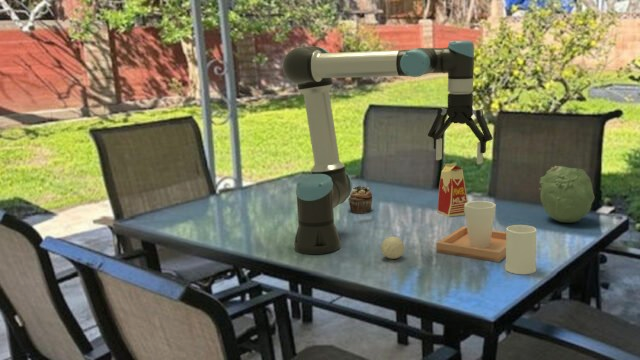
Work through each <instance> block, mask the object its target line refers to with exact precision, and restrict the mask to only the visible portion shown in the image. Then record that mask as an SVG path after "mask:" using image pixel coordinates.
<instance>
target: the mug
mask: <svg viewBox="0 0 640 360" xmlns="http://www.w3.org/2000/svg"><path fill="white" fill-rule="evenodd" d="M505 229H506V230H505V232H506V257H505V265H504V270H505V271H506V272H508V273H510V274H514V275H531V274H534V273H536V272H537V264H536V263H537V259H536V258H537V228H536V227H534V226H532V225H527V224H513V225H509V226H507V227H506V228H505Z"/></svg>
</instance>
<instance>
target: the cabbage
mask: <svg viewBox="0 0 640 360" xmlns="http://www.w3.org/2000/svg"><path fill="white" fill-rule="evenodd" d="M539 179H540V180H539V183H538V184H540V187H539V188H538V190H539V191H540V195H539V196H540V201H541V204H542V207H543V208H544V211H545V212H546V213H547V215H549V217H550V218H552V219H553V220H555V221H557V222H559V223H564V224H565V223H567V224H568V223H569V224H571V223H576V222H578V221H580V220H581V219H583V218H584V217H585V216H586V215H587V214H588V213H589V212H590V211H591V208H592V203H594V201H595V194H594V190H593V184H592V180H591V177H590V176H588V174H587V171H586V170H584V169H582V168H577V167H575V168H573V167H572V168H571V167H569V166H568V167H567V166H563V165H560V166H559V165H553V166H551V167H550V169H548V170H547V171H545V175H544V176H541V177H540V178H539Z"/></svg>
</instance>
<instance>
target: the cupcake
mask: <svg viewBox="0 0 640 360" xmlns="http://www.w3.org/2000/svg"><path fill="white" fill-rule="evenodd" d="M373 200H374V199H373V194H372V193H371V191H370V187H369V186H361V185H358V186H356V187H352V191H351V194H350V195H349V197H348V198H347V201H348V205H349V207H350V208H349V209H350V212H351V213H353V214H367V213H370V212H371V211H372V205H373Z"/></svg>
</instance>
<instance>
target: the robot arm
mask: <svg viewBox="0 0 640 360" xmlns="http://www.w3.org/2000/svg"><path fill="white" fill-rule="evenodd" d="M474 47H475V45H474V42H473V41H471V40H451V41H448V45H447V47H441V48H440V47H437V48H436V47H418V48H412V49H397V50H396V49H395V50H394V49H393V50H373V51H372V50H371V51H369V50H367V51H349V52H348V51H345V52H329V51H328V50H327V49H325V48H323V47H321V46H315V45H314V46H304V47H300V46H299V47H295V48H293V49H291V50H290V51H288V52H287V54H286V55H285V57H284V58H283V61H282V70H283V74H284V76H285V77H286V78H287V79H288V80H289V81H290V82H292V83H293V84H296V85H297V89H298V92H300V93H301V94H302V95H303V99H304V105H305V112H306V117H307V124H308V131H309V138H310V142H311V143H310V144H311V150H312V155H313V156H312V157H313V163H314V165H313V167H312V168H311V169H310V171H311V172H310V173H311V174H309V175H305V176H302V177H300V178H299V179H298V180H297V182H296V186H295V187H296V189H295V194H296V205H297V206H296V207H297V220H298V225H297V226H298V227H297V231H296V234H295V238H294V242H293V243H294V244H293V245H294V250H295V251H296V252H298V253H300V254H305V255H325V254H330V253H334V252H335V251H337V250H340V248H341V238H340V237H339V233H338V231H337V228H336V226H335V215H334V213H335V212H334V211H335V210H334V208H336V207H337V206H339V205H342V204H343V203H344V202H346V200H348V199H349V197H350V194H351V193H352V190H353V181H352V178H351V176H350V175H349V173H347V171H346V165H345V164H344V163H343V162H342V161H341V160H340V156H339V155H340V154H339V149H338V141H337V136H336V128H335V121H334V116H333V109H332V102H331V96H330V90H331V88H332V87H333V85H334V84H333V79H338V78H339V79H341V78H342V79H344V78H375V77H377V78H378V77H379V78H381V77H384V78H385V77H412V78H413V77H414V78H415V77H421V76H423V75H427V74H447V92H448V94H447V108H445V107H439V108H437V114H436V117H435V119H434V121H433V123H432V124H431V127H430V129H429V132H428V133H427V137H428V138H429V137H430V138H432V139H433V149H434V150H435V161H440V160H443V138H441V137H442V136H443V134H444V133H445V132H446V130H448V128H449V127H450V126H451V125H452V124H465V125H466V126H468V127H469V129H470V130H471V132H472V133H473V134H474V136H475V137H476V138H477V140H478V141H479V142H477V143H476V144H477V145H476V147H477V148H476V150H477V151H476V164H477V165H481V164H483V162H484V161H483V159H484V154H486V151H487V142H490V141H492V140H493V135H492V133H491V131H490V128H489V126H488V124H487V121H486V119H485V117H484V110H483V109H482V108H480V109H473V104H474V94H473V93H472V92H474V72H475V71H474V65H475V63H474V62H475V52H474V49H475V48H474ZM446 114H447V116H448V117H447V119H446V120H445V122H444V123H443V124H442V125H441V126H440V124H441V122H442V121H443V118H444V116H445V115H446ZM473 115H474V117H475V118H476V121H477V123H478V124H479V126H478V124H476V122H475V121H474V119H473V118H472V117H473ZM439 127H440V128H439ZM479 127H480V128H479Z"/></svg>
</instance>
